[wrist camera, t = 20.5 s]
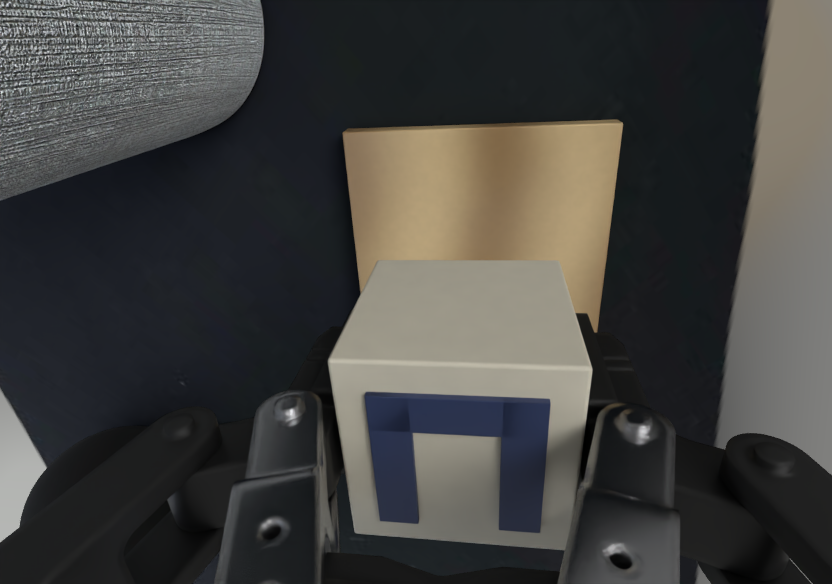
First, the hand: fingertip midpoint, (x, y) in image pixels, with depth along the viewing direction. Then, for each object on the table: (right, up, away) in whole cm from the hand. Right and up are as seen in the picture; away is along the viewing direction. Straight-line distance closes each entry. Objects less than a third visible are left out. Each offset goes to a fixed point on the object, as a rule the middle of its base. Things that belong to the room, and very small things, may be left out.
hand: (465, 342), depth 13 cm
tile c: (0, 0, 0) cm, 0 cm away
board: (+2, 0, +14) cm, 14 cm away
